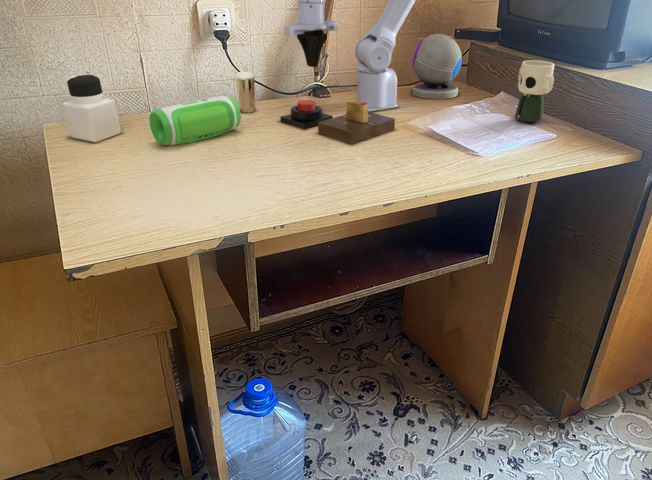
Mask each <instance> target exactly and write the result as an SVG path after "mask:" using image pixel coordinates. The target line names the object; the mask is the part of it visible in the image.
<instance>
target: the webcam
mask: <svg viewBox="0 0 652 480" xmlns="http://www.w3.org/2000/svg"><path fill="white" fill-rule="evenodd" d="M462 62H463V55H462V51H461V49H460V46H459V44H458V43H457V41H456V40H454V39H453V38H452V37H451V36H449V35H446V34H443V33H434V34H430V35H428V36H426V37H424V38H423V39H422V40H421V41H420V42H419V43H418V45H417V47H416V49H415V51H414V54H413V57H412V68H413V71H414V74H415V75H416V77H417V78H418V80H420V81H421V82H422V84H417V85H415V86H413V89H412V95H413V96H416V97H418V98H423V99H433V100H434V99H435V100H443V99H445V100H446V99H452V98H455V97H457V96H458V94H459V87H458V85H456V84H453V83H452V81H453V80H454V79H455V78H456V77H457V75H458V74H459V72H460V70H461V67H462ZM450 82H451V83H450Z"/></svg>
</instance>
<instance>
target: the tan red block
mask: <svg viewBox="0 0 652 480" xmlns="http://www.w3.org/2000/svg"><path fill="white" fill-rule="evenodd" d="M345 106H346V107H345V108H346V109H345V112H346V113H345V114H346V119H350V120H353V121H357V122H360V123H366V122H368V104H367V103H365V102H358V101H357V100H354V99H349V100H346V103H345Z"/></svg>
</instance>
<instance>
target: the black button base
mask: <svg viewBox="0 0 652 480" xmlns="http://www.w3.org/2000/svg"><path fill="white" fill-rule="evenodd" d="M331 118H334V116H333V115H330V114H327V113H324V112H323V108H322V106H320V105H316V104H315V110H314V111H299V110H298V106H297V105H293V106H292V107H291V108H290V114H286V115H282V116H280V123H283V124H286V125H288V126H289V125H290V126H292V127H296V128H298V129H302V130H308V129H310V128H315V127H318V122H321V121H324V120H328V119H331Z"/></svg>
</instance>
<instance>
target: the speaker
mask: <svg viewBox="0 0 652 480" xmlns="http://www.w3.org/2000/svg"><path fill="white" fill-rule="evenodd" d="M241 122H242V111H241V108H240V105H239V103H237V100H235V98H233V97H231V96H226V95H219V96H213V97H208V98H204V99H197V100H192V101H187V102H183V103H182V102H181V103H178V104H176V103H175V104H171V105H168V106H167V105H166V106H162V107H159V108H157V109H155V110H153V111H152V112H150V114H149V127H150V130H151V133H152V135H153V137H154V139H155V141H156V142H157V143H158V144H159V145H162V146H175V145H178V144H179V145H180V144H189V143H193V142H194V143H195V142H199V141H202V140H206V139H211V138H214V137H218V136H220V135H222V134H225V133H228V132H230V131H233V130H234V129H236V128H238V127H239V126H240V125H241Z"/></svg>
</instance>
